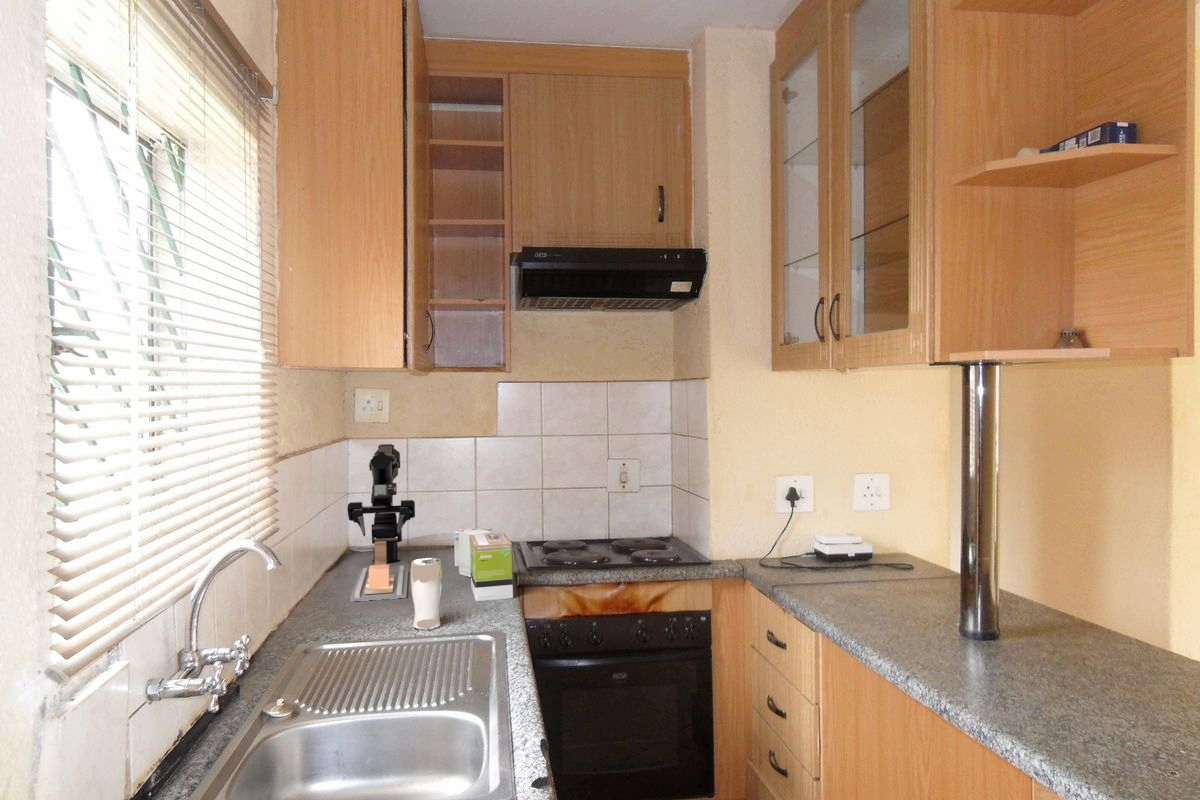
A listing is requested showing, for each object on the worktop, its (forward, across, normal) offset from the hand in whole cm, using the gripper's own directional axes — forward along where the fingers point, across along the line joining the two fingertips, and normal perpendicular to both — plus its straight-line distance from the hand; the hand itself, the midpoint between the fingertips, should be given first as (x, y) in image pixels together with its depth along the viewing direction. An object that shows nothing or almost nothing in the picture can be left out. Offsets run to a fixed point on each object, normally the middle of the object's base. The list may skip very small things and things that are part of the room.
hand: (381, 534), depth 221 cm
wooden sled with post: (+17, 0, 0) cm, 17 cm away
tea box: (+25, +29, -7) cm, 39 cm away
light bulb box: (0, +27, +20) cm, 33 cm away
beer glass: (+43, +12, -26) cm, 51 cm away
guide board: (+14, 0, +4) cm, 15 cm away
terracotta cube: (+19, 0, -4) cm, 19 cm away
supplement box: (+9, +27, +10) cm, 30 cm away
